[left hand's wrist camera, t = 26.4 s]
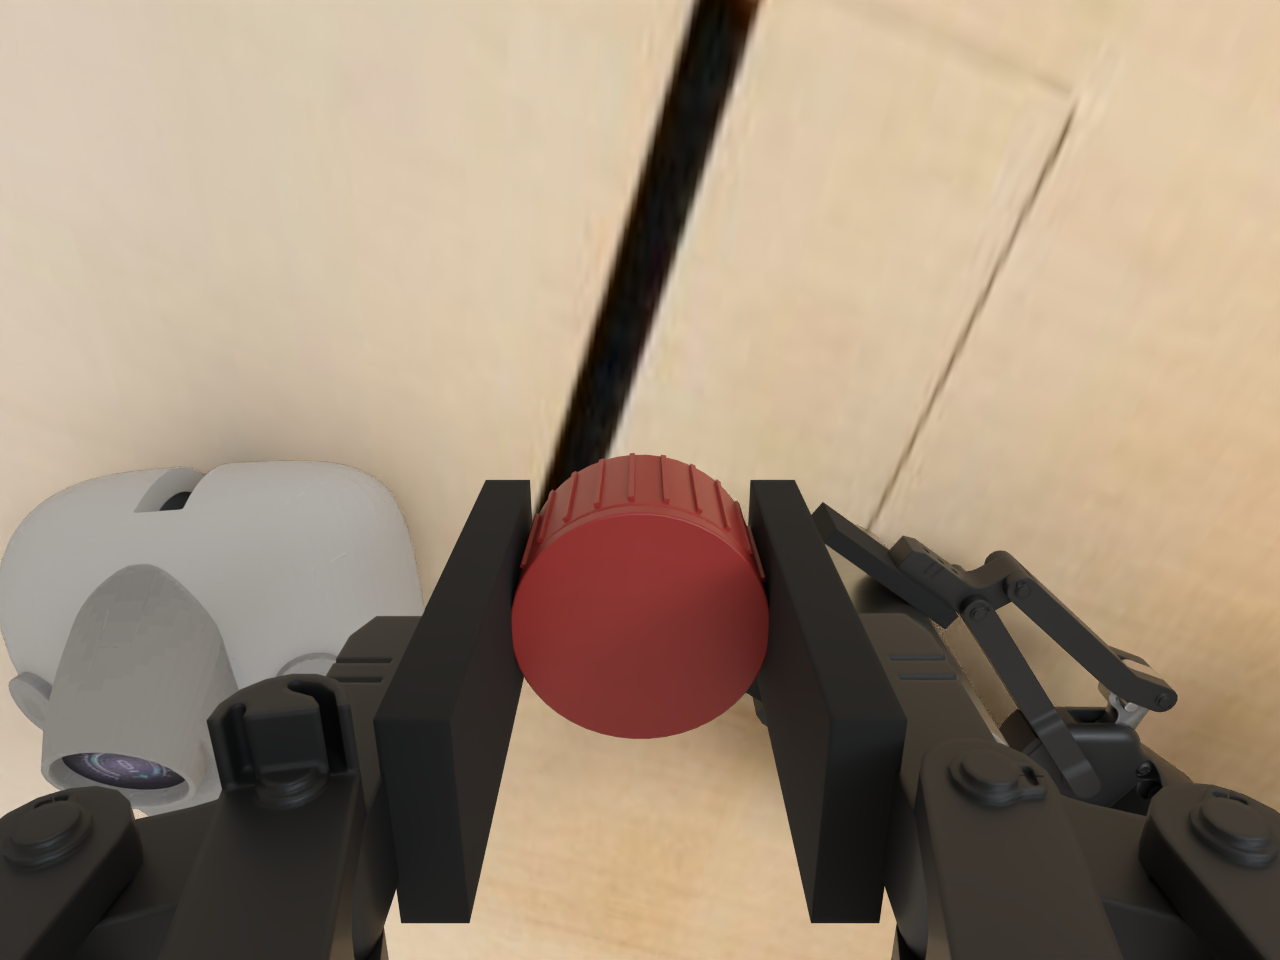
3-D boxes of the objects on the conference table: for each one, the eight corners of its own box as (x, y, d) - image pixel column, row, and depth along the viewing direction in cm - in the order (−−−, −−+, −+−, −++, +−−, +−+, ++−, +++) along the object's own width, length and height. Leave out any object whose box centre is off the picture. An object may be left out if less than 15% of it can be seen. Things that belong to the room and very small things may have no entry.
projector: (-14, 666, 43) (-314, 904, 30) (189, 312, 36) (-79, 410, 23) (359, 865, 48) (249, 1148, 34) (597, 586, 41) (576, 800, 28)
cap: (592, 684, 16) (584, 777, 13) (486, 509, 14) (455, 578, 12) (787, 601, 15) (815, 683, 13) (695, 411, 14) (705, 464, 11)
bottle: (760, 637, 43) (866, 1062, 23) (766, 522, 40) (889, 884, 20) (887, 636, 43) (1103, 1061, 23) (900, 520, 40) (1154, 881, 20)
